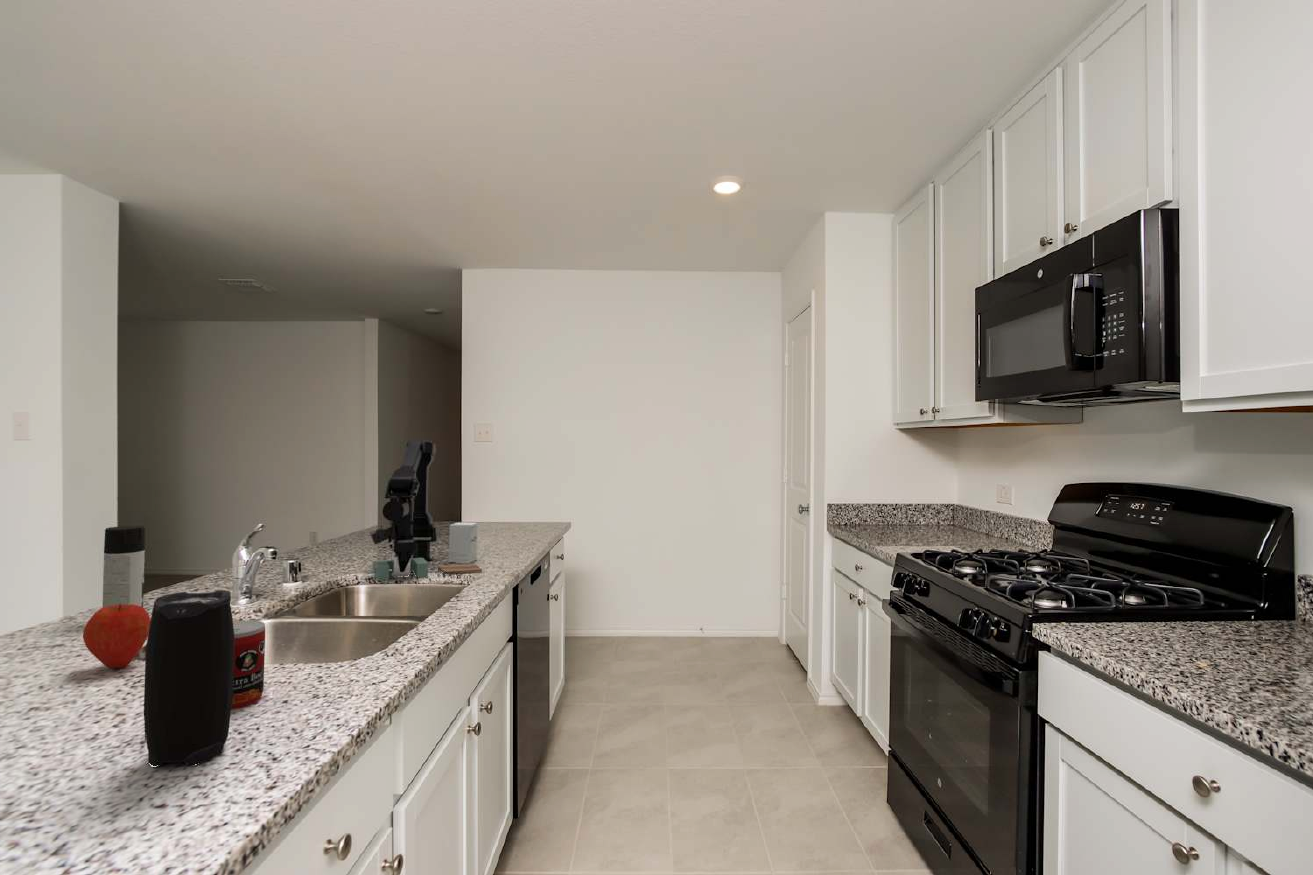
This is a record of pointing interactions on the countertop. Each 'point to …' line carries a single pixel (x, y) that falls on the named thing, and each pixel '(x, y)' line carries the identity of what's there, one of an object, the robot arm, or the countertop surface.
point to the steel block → (396, 569)
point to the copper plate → (460, 568)
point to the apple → (117, 634)
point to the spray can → (124, 566)
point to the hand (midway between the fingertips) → (401, 570)
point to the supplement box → (463, 542)
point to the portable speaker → (189, 677)
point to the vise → (383, 568)
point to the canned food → (248, 662)
